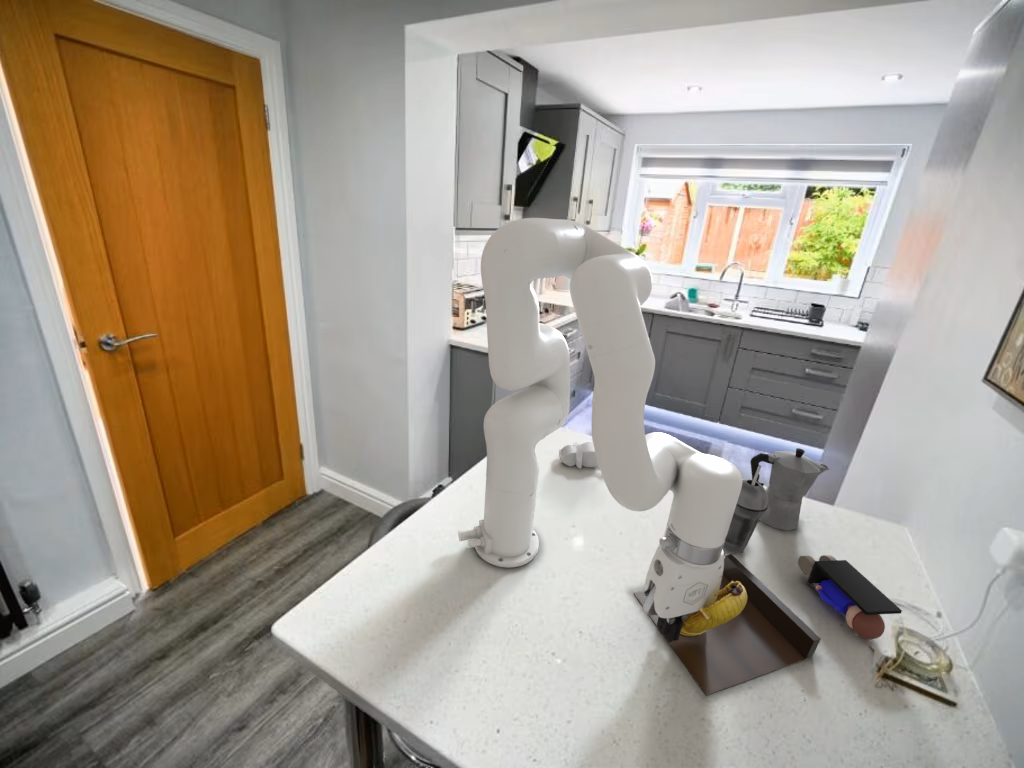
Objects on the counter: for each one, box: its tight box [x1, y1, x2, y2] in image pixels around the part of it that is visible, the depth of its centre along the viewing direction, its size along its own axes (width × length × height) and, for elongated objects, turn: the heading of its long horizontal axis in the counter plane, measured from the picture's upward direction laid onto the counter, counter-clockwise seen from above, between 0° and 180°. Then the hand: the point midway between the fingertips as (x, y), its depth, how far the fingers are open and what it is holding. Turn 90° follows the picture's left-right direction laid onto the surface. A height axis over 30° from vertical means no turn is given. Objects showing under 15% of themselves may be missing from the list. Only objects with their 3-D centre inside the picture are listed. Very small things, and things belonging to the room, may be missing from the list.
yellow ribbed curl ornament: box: [680, 581, 748, 638], centre depth 67 cm, size 12×8×15 cm
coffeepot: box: [750, 447, 830, 531], centre depth 96 cm, size 15×9×18 cm, turn 79°
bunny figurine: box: [558, 441, 599, 469], centre depth 114 cm, size 10×5×15 cm
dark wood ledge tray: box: [633, 553, 822, 696], centre depth 71 cm, size 21×18×4 cm
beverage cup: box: [723, 464, 768, 555], centre depth 86 cm, size 7×7×20 cm
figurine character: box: [797, 554, 903, 640], centre depth 76 cm, size 7×8×15 cm
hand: (666, 633), depth 68 cm, fingers closed
